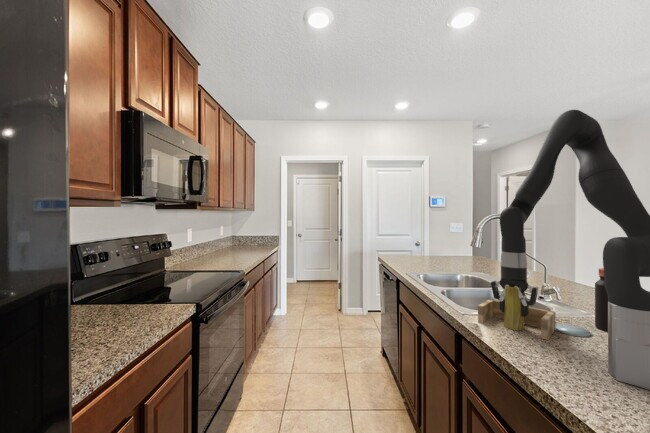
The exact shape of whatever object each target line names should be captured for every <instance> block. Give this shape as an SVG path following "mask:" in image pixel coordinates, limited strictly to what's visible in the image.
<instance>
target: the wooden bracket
mask: <svg viewBox="0 0 650 433" xmlns="http://www.w3.org/2000/svg"><path fill="white" fill-rule="evenodd" d="M491 318H496V319H497V318H498V319H502V320H504V312H502V311H501V310H500V301H499V300H498V299H491V298H490V299H487V300H485V301H484V302H482V303H480V304H478V305H477V322H478V323H481V324H484V323H485V322H487V321H489V320H490V319H491ZM524 325H528V326H531V327H536V328H540V339H543V340H549V338H550V337H551V336H552V334H554V332H555V331H556V329H555V325H556V311H552V310H547V309H543V308H542V309H541V308H538V307H532V306H529V314H528V315H527V316H526V317H524Z"/></svg>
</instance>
